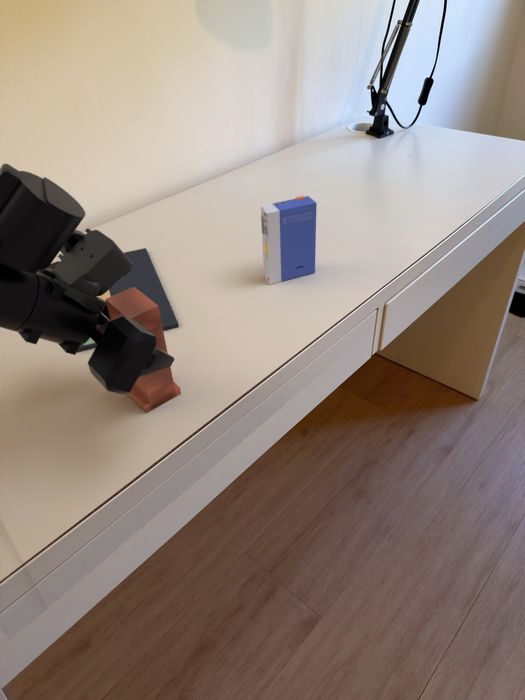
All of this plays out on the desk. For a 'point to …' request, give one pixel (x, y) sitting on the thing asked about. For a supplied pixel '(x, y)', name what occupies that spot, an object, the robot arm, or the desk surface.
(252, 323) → the desk surface
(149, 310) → the reddish brown square pillar
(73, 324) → the robot arm
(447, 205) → the desk surface
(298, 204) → the walkman
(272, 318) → the desk surface
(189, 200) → the desk surface
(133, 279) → the dark blue mat
